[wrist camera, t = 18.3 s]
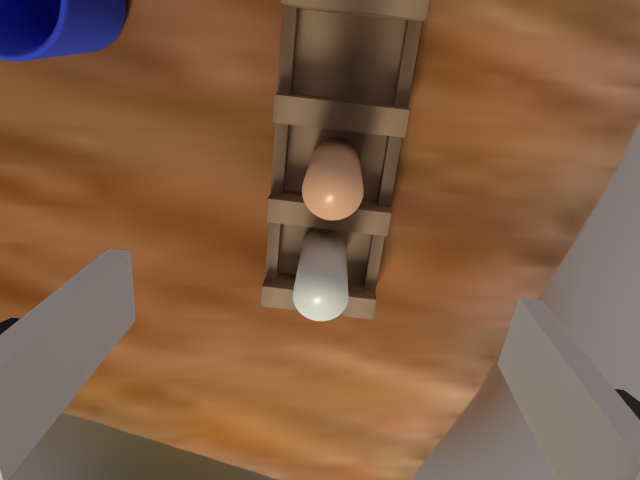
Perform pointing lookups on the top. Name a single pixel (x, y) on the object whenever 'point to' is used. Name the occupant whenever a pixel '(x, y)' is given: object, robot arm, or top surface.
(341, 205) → the plug terracotta
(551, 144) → the top surface
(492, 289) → the top surface
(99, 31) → the mug
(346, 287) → the plug grey
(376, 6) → the comb rack
